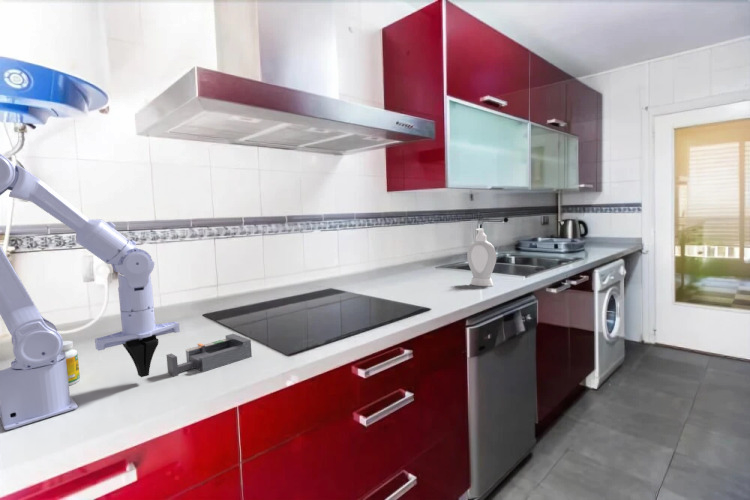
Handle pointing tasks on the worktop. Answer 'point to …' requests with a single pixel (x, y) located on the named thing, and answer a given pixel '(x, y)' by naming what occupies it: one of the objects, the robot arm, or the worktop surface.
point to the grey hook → (194, 363)
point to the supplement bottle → (71, 362)
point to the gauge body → (222, 352)
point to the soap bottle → (481, 260)
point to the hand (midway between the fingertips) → (143, 375)
